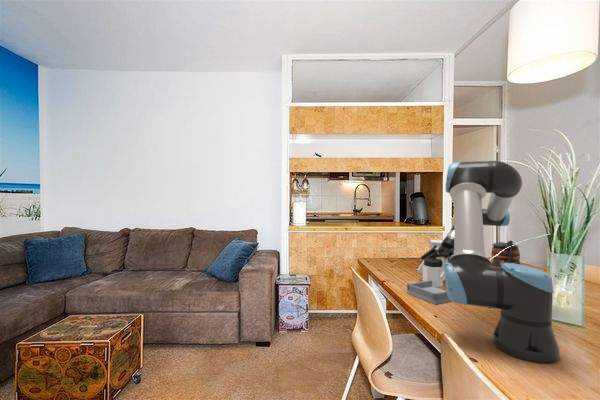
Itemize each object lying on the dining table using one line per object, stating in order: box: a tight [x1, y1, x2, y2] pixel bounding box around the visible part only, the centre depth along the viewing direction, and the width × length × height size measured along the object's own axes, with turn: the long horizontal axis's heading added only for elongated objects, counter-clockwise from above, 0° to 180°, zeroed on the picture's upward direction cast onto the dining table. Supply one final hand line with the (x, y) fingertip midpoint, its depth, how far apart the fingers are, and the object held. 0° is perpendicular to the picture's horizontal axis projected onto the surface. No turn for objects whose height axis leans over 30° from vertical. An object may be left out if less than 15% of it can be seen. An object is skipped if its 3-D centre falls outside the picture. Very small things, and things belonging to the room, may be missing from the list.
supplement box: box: [428, 239, 448, 271], centre depth 173 cm, size 10×9×17 cm
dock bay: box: [406, 280, 452, 305], centre depth 130 cm, size 15×14×4 cm
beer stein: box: [490, 240, 521, 268], centre depth 162 cm, size 19×15×20 cm
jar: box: [422, 258, 444, 288], centre depth 146 cm, size 9×8×12 cm
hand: (429, 275), depth 145 cm, fingers open, 13 cm apart
